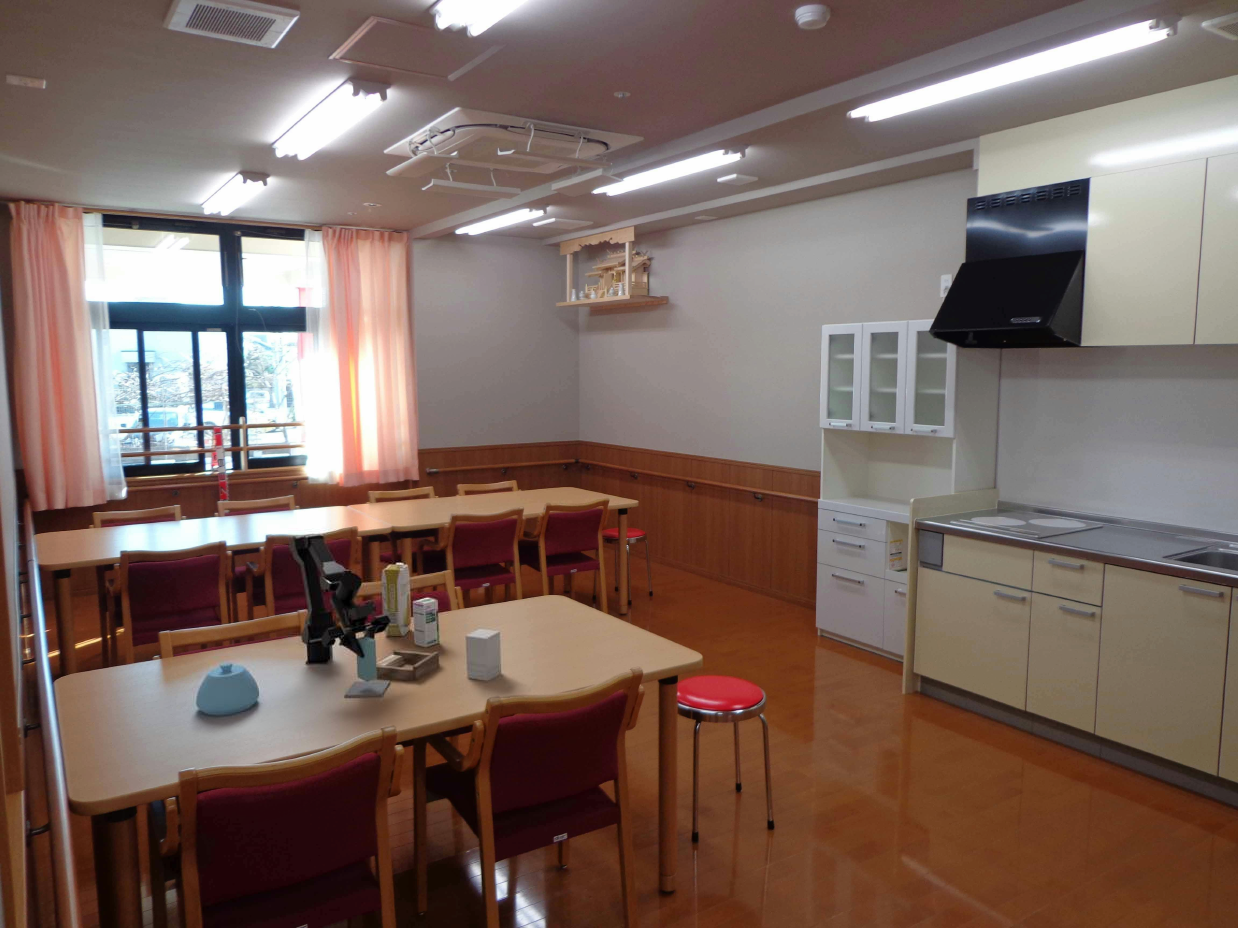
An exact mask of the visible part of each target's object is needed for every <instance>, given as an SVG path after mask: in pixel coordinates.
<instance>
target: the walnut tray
mask: <svg viewBox="0 0 1238 928" xmlns="http://www.w3.org/2000/svg"><path fill="white" fill-rule="evenodd" d="M391 655H398V656H402V658H403V661H404V663H409V662H413V663H412V664H414V665H412V668H409V667H401V666H399V667H391V666H382V665H376V668H377V676H378V677H377V678H385V677H387V678H388V679H394V678H395V679H396V680H405V681H418V680H419V679H421V678H422V677H424V676H425V675H427V674H428V673H429V671H430V672H431V671H433V670H434V669H435V668H437V667H438V666H439V665H440V651H434V652H432V653H430V652H429V653H428V652H420V651H419V652H418V651H411V650H410V651H408V650H399V649H398V650H397V649H394V650H393V652H392V653H389V654H388V655H386V656H384V657H383V658H381V659H379V660H378V661H377V660H376V663H377V662H379V661H381V660H383V659H385V658H387V657H389V656H391ZM423 675H424V676H423ZM387 678H386V679H387Z"/></svg>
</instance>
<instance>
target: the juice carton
mask: <svg viewBox="0 0 1238 928" xmlns="http://www.w3.org/2000/svg"><path fill="white" fill-rule="evenodd" d="M381 572H382V574H381V592H382V593H381V597H382V598H381V599H382V615H384V614H385V615H388V616H389V618H390V620H391V622H390V623H389V625H388V626H387V628H386V629H385V631H383V633H384V635H385V637H403V636H405V635H406V634H407V633H408V631H410V630H411V624H412V610H411V583H410V582H411V579H410V578H411V577H410V570H409V565H408V564H404V563H403V562H396V563H395V564H389V565H387V566H386V568H384V569H382V571H381Z"/></svg>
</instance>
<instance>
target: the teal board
mask: <svg viewBox="0 0 1238 928" xmlns="http://www.w3.org/2000/svg"><path fill="white" fill-rule="evenodd" d="M356 639H357V641H358V643H359V645H360V647H361V649H362V651H363V653H364V658H361V657H359V656H358V655H357V654H356V671H357V678H358V679H360V680H362V681H367V682H368V681H375V680H377V679H378V677H377V668H376V662H377V646H376V645H377V644H376V643H377V641H376V639H375V640H374V639H372V638H369V637H367V636H364V635H363V636H361V637H356Z"/></svg>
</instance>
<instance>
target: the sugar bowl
mask: <svg viewBox="0 0 1238 928" xmlns="http://www.w3.org/2000/svg"><path fill="white" fill-rule="evenodd" d="M259 697H260V689H259V686H258V682H257V681H256V679H255V677H254V676H253V675H252V674H251V672H250V671H249V670H248V669H247V668H246V667H245V666H243V665H237V664H233V663H232V662H223V663H220V665H219V667H216V668H213V669H211V670H210V671H209V672H208V673H206V675H205V677H204V678H203V680H202V682H201V684H200V686H199V687H198V691H197V694H196V700H195V703H196V705H195V706H196V707H197V708H198V709H199V710H200V711H201V712H202V713H204V714H205V715H208V716H215V717H217V716H219V717H220V716H222V717H223V716H229V715H234V714H238V713H241V712H243V711H247V710H248V709H250V708H251V707H253V706H254V705H255V703H256V702H257V701H258V699H259Z"/></svg>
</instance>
